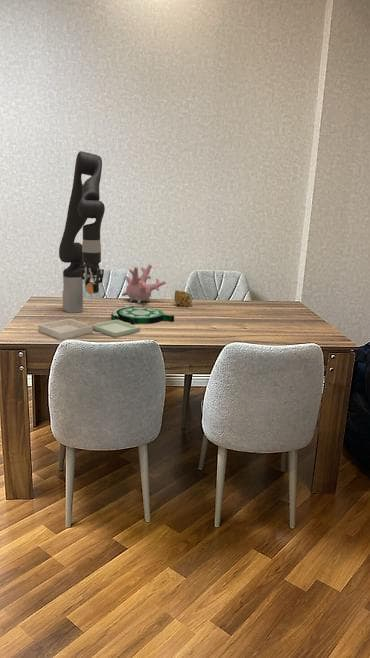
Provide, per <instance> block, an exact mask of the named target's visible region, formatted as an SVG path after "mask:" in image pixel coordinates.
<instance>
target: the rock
mask: <svg viewBox="0 0 370 658" xmlns="http://www.w3.org/2000/svg"><path fill="white" fill-rule="evenodd" d="M190 296H191V295H190V293H189V292H187V291H183V290H177V289H175V291H174V296H173V297H174V303H175V304H176V305H177V306H178V305H179V307H183V308H190V307H191V306H192V304H193V299H192V298H191V297H190Z"/></svg>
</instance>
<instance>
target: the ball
mask: <svg viewBox="0 0 370 658" xmlns="http://www.w3.org/2000/svg"><path fill="white" fill-rule="evenodd" d="M85 291H86V292H87V293H88V294H89V295H94V294H96V293H93V281H92V282H91V281H90V283H88V284H87V285H86V290H85Z"/></svg>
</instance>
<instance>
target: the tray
mask: <svg viewBox="0 0 370 658" xmlns="http://www.w3.org/2000/svg"><path fill="white" fill-rule="evenodd" d="M90 325H91V326H93V331H96V332H98V333H100V332H101V334H103V333H104V335H106V334H107V336H110V337H112V338H114V337H115V338H119V337H124V336H128V335H132V334H136V333H140V332H141V326H137V325H136V324H134V325H132V324H130V323H127V322H123V321H121V320H119V319H118V320H112V319H110V320H107V321H103V322H98V323H94V324H93V323H92V324H90Z"/></svg>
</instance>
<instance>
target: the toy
mask: <svg viewBox="0 0 370 658" xmlns="http://www.w3.org/2000/svg"><path fill="white" fill-rule="evenodd" d="M152 266H153V265H151V264H148V266H147V267H146V268H144V267H143V266H142V267H141V268H140V270H141V272H142V273H141V276H139V268H138V266H134V269H133V270H132V269H129V273H130V274H131V275H132V277H130V276H125V277H124V278H125V280H126V282H127V283H128V284H127V286H126V290H125V291H124V292H122V293H121V296H122V297H125V296H128V297H129V302H131V303H132V302H133V301H136V303H137V304H141V303H142V302H143V301H146V302H149V301H150V297H151V295H152V292H153V291H154V290H156V291H160V289H159V288H160V287H161V286H163V285H166V284H167V283H166V281H165V280H164V281H160V280H159V278H157V279H156V280H155V283H152V284H148V283H147V280H150V279H152V276H151V275H150V272H151V270H152Z"/></svg>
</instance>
